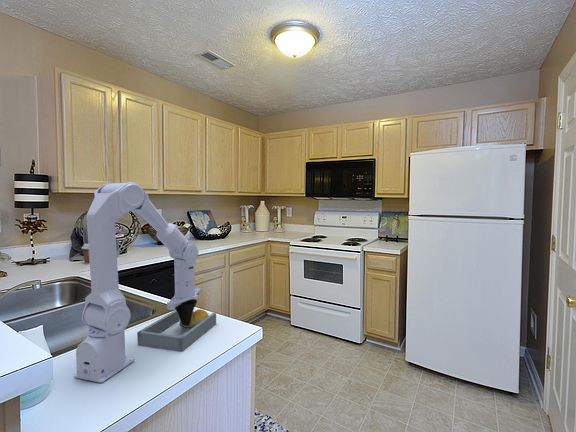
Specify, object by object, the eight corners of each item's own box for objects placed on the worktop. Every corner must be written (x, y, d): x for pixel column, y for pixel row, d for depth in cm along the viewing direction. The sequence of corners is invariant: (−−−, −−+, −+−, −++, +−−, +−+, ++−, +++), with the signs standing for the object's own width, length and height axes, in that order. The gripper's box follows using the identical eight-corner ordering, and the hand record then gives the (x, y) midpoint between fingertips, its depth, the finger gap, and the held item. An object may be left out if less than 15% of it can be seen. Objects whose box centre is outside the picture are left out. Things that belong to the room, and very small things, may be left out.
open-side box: (182, 351, 79) (182, 338, 78) (137, 344, 82) (137, 332, 82) (216, 323, 96) (216, 312, 96) (177, 319, 100) (177, 308, 99)
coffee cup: (86, 265, 178) (85, 245, 177) (79, 263, 183) (78, 244, 182) (102, 262, 186) (102, 243, 185) (95, 261, 191) (94, 242, 190)
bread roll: (181, 319, 100) (181, 307, 100) (209, 317, 101) (209, 305, 101) (176, 329, 92) (176, 316, 92) (207, 327, 93) (207, 314, 93)
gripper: (181, 288, 83) (183, 336, 84) (209, 275, 97) (209, 316, 98) (160, 286, 85) (161, 333, 86) (189, 274, 99) (190, 314, 100)
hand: (185, 324), depth 92 cm, fingers closed
